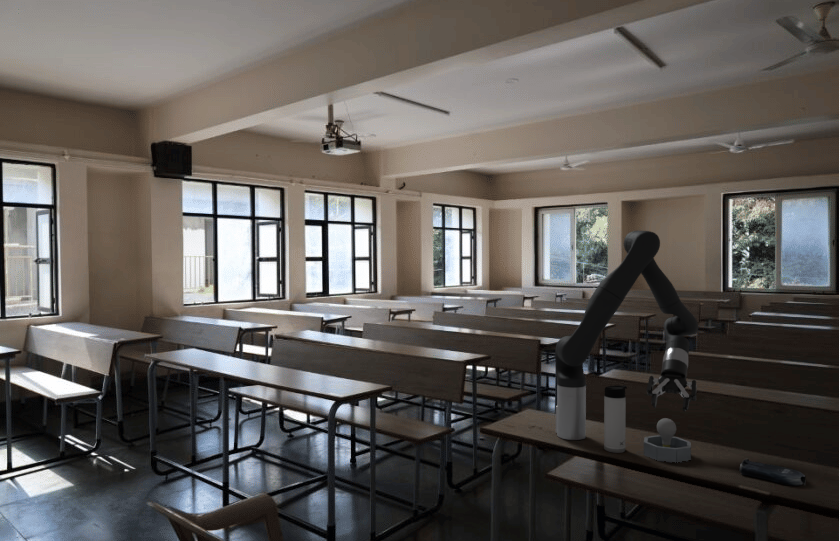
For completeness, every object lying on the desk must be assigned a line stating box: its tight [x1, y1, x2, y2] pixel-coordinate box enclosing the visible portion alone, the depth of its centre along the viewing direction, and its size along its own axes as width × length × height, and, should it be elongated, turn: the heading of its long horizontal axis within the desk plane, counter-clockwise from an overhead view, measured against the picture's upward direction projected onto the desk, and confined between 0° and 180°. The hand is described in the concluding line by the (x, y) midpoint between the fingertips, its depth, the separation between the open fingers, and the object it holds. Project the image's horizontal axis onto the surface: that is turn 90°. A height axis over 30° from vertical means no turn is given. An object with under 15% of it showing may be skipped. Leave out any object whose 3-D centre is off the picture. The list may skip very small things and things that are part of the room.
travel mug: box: [603, 384, 627, 454], centre depth 187 cm, size 6×7×20 cm
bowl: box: [643, 434, 692, 464], centre depth 182 cm, size 13×13×4 cm
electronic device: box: [739, 458, 807, 487], centre depth 164 cm, size 9×6×15 cm
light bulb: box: [656, 417, 677, 447], centre depth 183 cm, size 5×6×10 cm
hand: (669, 408), depth 186 cm, fingers open, 8 cm apart
